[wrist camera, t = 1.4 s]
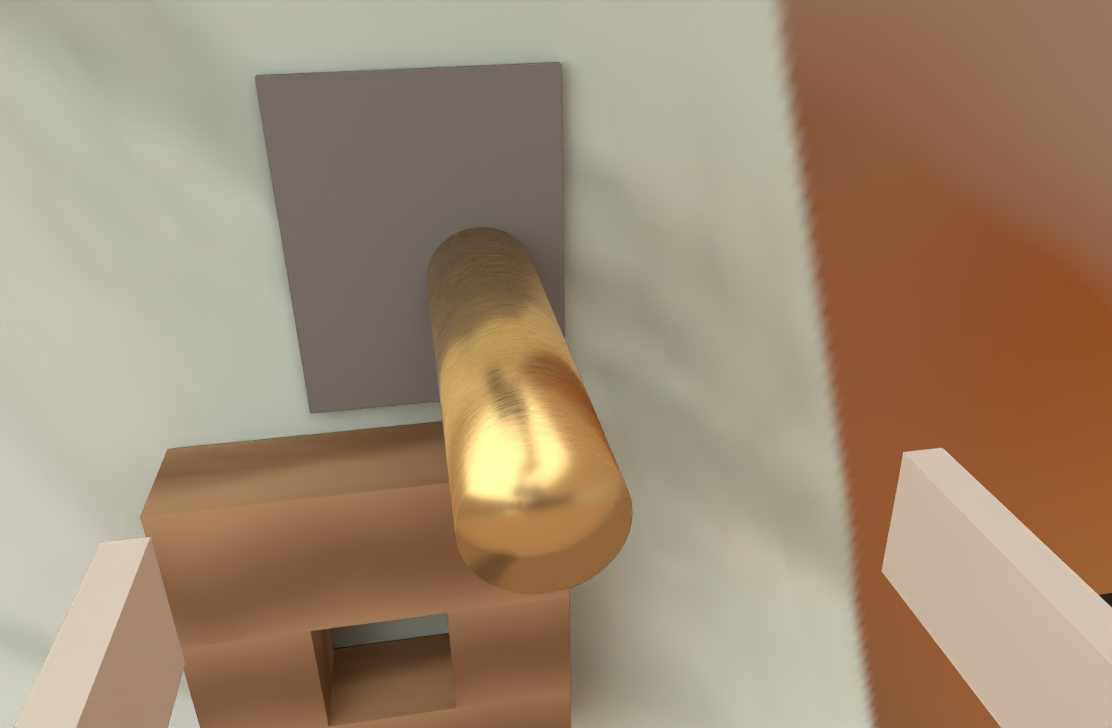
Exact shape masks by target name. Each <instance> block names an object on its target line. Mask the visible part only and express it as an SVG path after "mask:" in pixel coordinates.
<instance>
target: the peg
mask: <svg viewBox="0 0 1112 728" xmlns="http://www.w3.org/2000/svg"><path fill="white" fill-rule="evenodd" d="M427 289H428V298H429V307H430V316H431V324H432V333H433V342H434V351H435V360H436V369H437V377H438V386H439V395H440V404H441V413H442V422H443V431H444V439H445V448H446V457H447V466H448V475H449V484H450V492H451V501H452V510H453V519H454V528H455V536H456V542H457V546H458V549H459V552H460V554H461V556H462V558H463V560H464V562H465V563H466V564H467V566H468V567H469V568H470V570H472V571H473V572H474V573H475V574H476V575H477V576H478V577H479V578H481V579H482V580H484V581H485V582H487V583H489V584H490V585H492V586H494V587H497V588H499V589H502V590H505V591H509V592H513V593H520V594H547V593H553V592H558V591H562V590H565V589H569V588H571V587H574V586H576V585H579V584H581V583H583V582H585V581H586V580H588V579H590V578H592V577H593V576H595V575H596V574H598V573H599V572H600V571H601V570H603V569H604V568H605V567H606V566H607V565H608V564H609V563H610V562H611V561H612V560H613V559H614V558H615V557H616V555H617V554H618V553H619V551H620V550H621V548H622V546H623V545H624V543H625V541H626V539H627V536H628V534H629V531H630V527H631V522H632V503H631V498H630V495H629V492H628V490H627V487H626V485H625V482H624V480H623V477H622V475H621V473H620V470H619V468H618V465H617V463H616V461H615V458H614V456H613V454H612V451H611V449H610V446H609V444H608V442H607V439H606V437H605V434H604V432H603V430H602V427H601V425H600V422H599V420H598V418H597V415H596V413H595V411H594V408H593V406H592V403H591V401H590V399H589V396H588V394H587V391H586V389H585V387H584V384H583V382H582V379H581V377H580V375H579V372H578V370H577V368H576V365H575V363H574V360H573V358H572V356H571V353H570V351H569V348H568V346H567V344H566V341H565V339H564V336H563V334H562V332H561V329H560V327H559V324H558V322H557V320H556V317H555V315H554V313H553V310H552V308H551V305H550V303H549V301H548V298H547V296H546V293H545V291H544V289H543V286H542V284H541V281H540V279H539V277H538V274H537V272H536V270H535V267H534V265H533V262H532V260H531V258H530V255H529V254H528V252H527V250H526V249H525V247H524V246H523V245H522V244H521V243H520V242H519V241H518V240H517V239H516V238H514V237H513V236H512V235H510V234H508V233H506V232H504V231H501V230H499V229H495V228H489V227H475V228H469V229H465V230H462V231H460V232H457V233H456V234H454V235H452V236H450V237H449V238H448V239H446V240H445V241H444V242H443V243H442V244H441V245H440V246H439V247H438V248H437V250H436V251H435V253H434V254H433V256H432V258H431V260H430V263H429V266H428V270H427Z"/></svg>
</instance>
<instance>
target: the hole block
mask: <svg viewBox="0 0 1112 728" xmlns="http://www.w3.org/2000/svg"><path fill="white" fill-rule="evenodd" d="M140 518H141V521H142V525H143V528H144V532H145V535H146V537H151V540H152V544H153V548H154V551H155V555H156V559H157V562H158V566H159V570H160V573H161V577H162V581H163V584H164V588H165V592H166V595H167V599H168V602H169V606H170V610H171V613H172V617H173V621H174V624H175V628H176V632H177V635H178V639H179V643H180V646H181V650H182V653H183V657H184V661H185V666H184V672H185V676H186V679H187V683H188V686H189V690H190V693H191V697H192V700H193V704H194V707H195V711H196V714H197V718H198V721H199V725H200V728H571V702H570V617H569V589H565V590H562V591H558V592H553V593H547V594H520V593H513V592H509V591H505V590H502V589H499V588H497V587H494V586H492V585H490V584H489V583H487V582H485V581H484V580H482V579H481V578H479V577H478V576H477V575H476V574H475V573H474V572H473V571H472V570H470V568H469V567H468V566H467V564H466V563H465V562H464V560H463V558H462V556H461V554H460V552H459V549H458V546H457V542H456V536H455V528H454V519H453V510H452V501H451V492H450V484H449V475H448V466H447V457H446V448H445V439H444V431H443V422H433V423H424V424H414V425H404V426H394V427H384V428H374V429H364V430H354V431H344V432H334V433H324V434H314V435H304V436H294V437H284V438H274V439H264V440H254V441H244V442H234V443H224V444H214V445H204V446H194V447H184V448H174V449H167V452H166V454H165V457H164V459H163V462H162V464H161V467H160V469H159V472H158V474H157V477H156V479H155V481H154V484H153V486H152V489H151V491H150V494H149V496H148V499H147V501H146V504H145V506H144V509H143V511H142V514H141V516H140ZM444 613H447V615H448V626H449V634H442V635H435V636H428V637H420V638H413V639H405V640H398V641H390V642H383V643H375V644H368V645H360V646H353V647H346V648H338V649H334V646H333V641H332V635H331V629H330V628H337V627H345V626H353V625H360V624H368V623H376V622H383V621H391V620H399V619H406V618H414V617H421V616H429V615H437V614H444Z"/></svg>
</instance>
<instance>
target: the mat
mask: <svg viewBox="0 0 1112 728" xmlns="http://www.w3.org/2000/svg"><path fill="white" fill-rule="evenodd" d="M255 81H256V87H257V93H258V99H259V105H260V111H261V118H262V124H263V130H264V136H265V142H266V148H267V154H268V160H269V166H270V172H271V178H272V184H273V190H274V196H275V202H276V208H277V214H278V220H279V226H280V232H281V238H282V244H283V251H284V257H285V263H286V269H287V275H288V281H289V287H290V293H291V299H292V305H293V311H294V317H295V323H296V329H297V335H298V341H299V347H300V353H301V359H302V365H303V371H304V378H305V384H306V390H307V396H308V402H309V408H310V413H320V412H330V411H341V410H351V409H361V408H372V407H382V406H392V405H402V404H413V403H423V402H433V401H440V395H439V386H438V377H437V369H436V360H435V351H434V342H433V333H432V324H431V316H430V307H429V298H428V289H427V270H428V266H429V263H430V260H431V258H432V256H433V254H434V253H435V251H436V250H437V248H438V247H439V246H440V245H441V244H442V243H443V242H444V241H445V240H446V239H448V238H449V237H450V236H452V235H454V234H456V233H457V232H460V231H462V230H465V229H469V228H475V227H489V228H495V229H499V230H501V231H504V232H506V233H508V234H510V235H512V236H513V237H514V238H516V239H517V240H518V241H519V242H520V243H521V244H522V245H523V246H524V247H525V249H526V250H527V252H528V254H529V255H530V258H531V260H532V262H533V265H534V267H535V270H536V272H537V274H538V277H539V279H540V281H541V284H542V286H543V289H544V291H545V293H546V296H547V298H548V301H549V303H550V305H551V308H552V310H553V313H554V315H555V317H556V320H557V322H558V324H559V327H560V329H561V332H562V334H563V336H564V339H565V321H564V241H563V163H562V84H561V64H560V63H559V62H551V63H528V64H505V65H482V66H459V67H436V68H413V69H390V70H367V71H344V72H321V73H298V74H275V75H257V76H256V77H255Z"/></svg>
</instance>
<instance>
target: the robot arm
mask: <svg viewBox="0 0 1112 728" xmlns="http://www.w3.org/2000/svg"><path fill="white" fill-rule="evenodd" d="M882 572H883V574H884V575H885V576H886V578H887V579H888V580H889V581H890V583H891V584H892V585H893V587H894V588H895V589H896V591H897V592H898V593H899V595H900V596H901V597H902V598H903V600H904V601H905V602H906V604H907V605H908V606H909V608H910V609H911V610H912V611H913V613H914V614H915V615H916V617H917V618H918V619H919V621H920V622H921V623H922V625H923V626H924V627H925V628H926V630H927V631H928V633H929V634H930V635H931V636H932V638H933V639H934V640H935V642H936V643H937V644H938V646H939V647H940V648H941V649H942V651H943V652H944V653H945V655H946V656H947V657H948V659H949V660H950V661H951V662H952V664H953V665H954V667H955V668H956V669H957V670H958V672H959V673H960V674H961V676H962V677H963V678H964V680H965V681H966V682H967V684H968V685H969V686H970V688H971V689H972V690H973V691H974V693H975V694H976V695H977V697H978V698H979V699H980V701H981V702H982V703H983V705H984V706H985V707H986V708H987V710H988V711H989V712H990V714H991V715H992V716H993V717H994V719H995V720H996V722H997V723H998V724H999V725H1000V727H1001V728H1112V593H1109V594H1102V595H1098V594H1097V593H1095V591H1093V590H1092V589H1091V588H1090V587H1089V586H1088V585H1087V584H1086V583H1085V582H1084V581H1083V580H1082V579H1081V578H1080V577H1079V576H1077V574H1076V573H1074V572H1073V571H1072V570H1071V569H1070V568H1069V567H1068V566H1067V565H1066V564H1065V563H1064V562H1063V561H1062V560H1060V558H1059V557H1057V556H1056V555H1055V554H1054V553H1053V552H1052V551H1051V550H1050V549H1049V548H1048V547H1047V546H1046V545H1045V544H1044V543H1043V542H1042V541H1041V540H1039V539H1038V538H1037V537H1036V536H1035V535H1034V534H1033V533H1032V532H1031V531H1030V530H1029V529H1028V528H1027V527H1026V526H1025V525H1024V524H1023V523H1021V522H1020V521H1019V520H1018V519H1017V518H1016V517H1015V516H1014V515H1013V514H1012V513H1011V512H1010V511H1009V510H1008V509H1007V508H1006V507H1004V506H1003V505H1002V504H1001V503H1000V502H999V501H998V500H997V499H996V498H995V497H994V496H993V495H992V494H991V493H990V492H989V491H988V490H986V489H985V488H984V487H983V486H982V485H981V484H980V483H979V482H978V481H977V480H976V479H975V478H974V477H973V476H972V475H971V474H969V473H968V472H967V471H966V470H965V469H964V468H963V467H962V466H961V465H960V464H959V463H958V462H957V461H956V460H955V459H954V458H952V457H951V456H950V455H949V454H948V453H947V452H946V451H945V450H944V449H943V448H937V449H927V450H919V451H909V452H904V453H903V458H902V463H901V469H900V474H899V480H898V485H897V491H896V497H895V502H894V508H893V513H892V518H891V524H890V529H889V534H888V540H887V546H886V551H885V556H884V562H883V567H882ZM184 666H185V661H184V657H183V653H182V650H181V646H180V643H179V639H178V635H177V632H176V628H175V624H174V621H173V617H172V613H171V610H170V606H169V602H168V599H167V595H166V592H165V588H164V584H163V581H162V577H161V573H160V570H159V566H158V562H157V559H156V555H155V551H154V548H153V544H152V540H151V537H144V538H135V539H126V540H117V541H108V542H100V545H99V547H98V549H97V551H96V553H95V555H94V557H93V560H92V562H91V564H90V566H89V568H88V570H87V572H86V575H85V577H84V579H83V581H82V583H81V585H80V587H79V590H78V592H77V594H76V596H75V598H74V600H73V602H72V605H71V607H70V609H69V611H68V613H67V615H66V617H65V619H64V622H63V624H62V626H61V628H60V630H59V632H58V634H57V637H56V639H55V641H54V643H53V645H52V647H51V649H50V652H49V654H48V656H47V658H46V660H45V662H44V664H43V667H42V669H41V671H40V673H39V675H38V677H37V679H36V682H35V684H34V686H33V688H32V690H31V692H30V694H29V697H28V699H27V701H26V703H25V705H24V707H23V709H22V712H21V714H20V716H19V718H18V720H17V722H16V724H15V727H14V728H168V724H169V720H170V717H171V713H172V710H173V706H174V702H175V699H176V695H177V691H178V688H179V684H180V681H181V677H182V673H183V670H184Z"/></svg>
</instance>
